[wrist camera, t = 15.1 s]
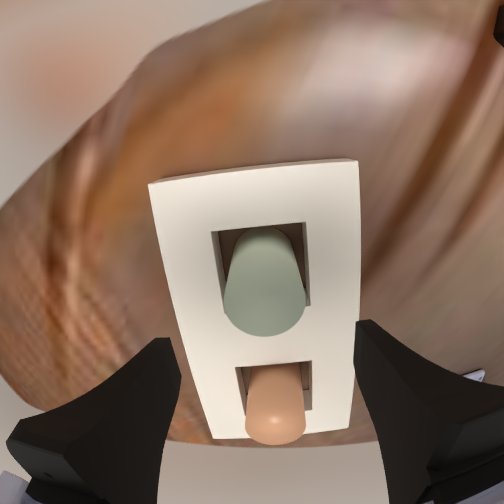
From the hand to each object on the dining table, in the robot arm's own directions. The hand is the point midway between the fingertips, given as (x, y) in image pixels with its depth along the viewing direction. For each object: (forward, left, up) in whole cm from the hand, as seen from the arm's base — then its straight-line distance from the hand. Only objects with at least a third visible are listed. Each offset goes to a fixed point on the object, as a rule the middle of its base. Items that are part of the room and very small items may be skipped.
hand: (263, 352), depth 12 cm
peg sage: (0, 0, -10) cm, 10 cm away
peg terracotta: (-10, 0, -10) cm, 14 cm away
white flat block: (-5, 0, -10) cm, 12 cm away
